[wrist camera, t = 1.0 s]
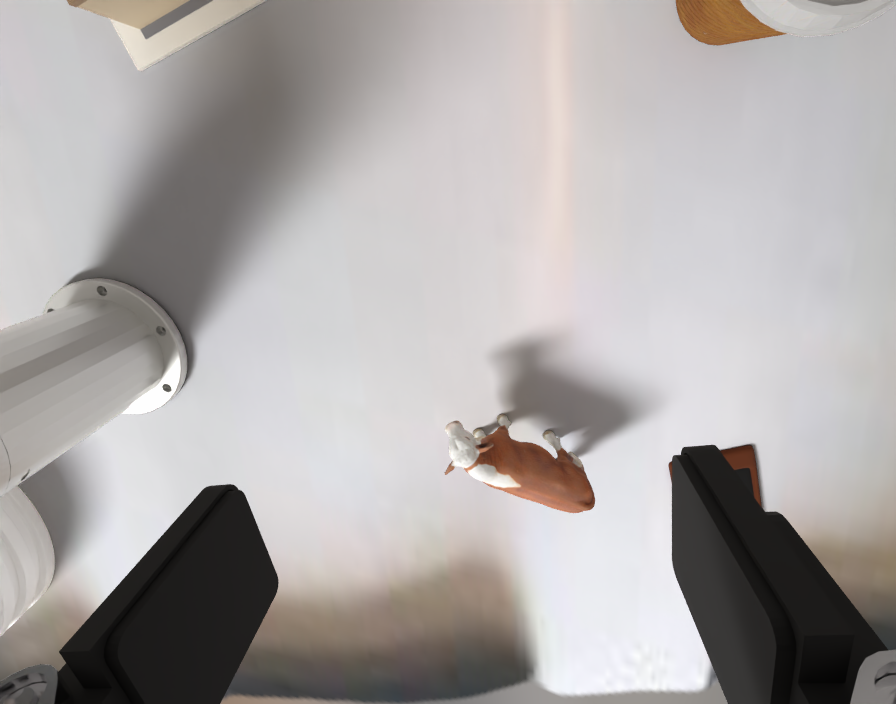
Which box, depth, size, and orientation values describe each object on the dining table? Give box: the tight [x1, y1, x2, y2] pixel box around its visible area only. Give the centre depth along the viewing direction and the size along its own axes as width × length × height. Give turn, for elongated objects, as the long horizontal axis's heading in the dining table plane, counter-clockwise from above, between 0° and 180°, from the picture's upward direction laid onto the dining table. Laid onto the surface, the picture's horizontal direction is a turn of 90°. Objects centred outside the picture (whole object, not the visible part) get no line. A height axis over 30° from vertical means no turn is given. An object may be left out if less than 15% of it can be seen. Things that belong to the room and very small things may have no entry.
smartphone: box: [669, 445, 762, 508], centre depth 44 cm, size 7×1×15 cm
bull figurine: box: [445, 414, 595, 513], centre depth 39 cm, size 4×13×8 cm, turn 64°
